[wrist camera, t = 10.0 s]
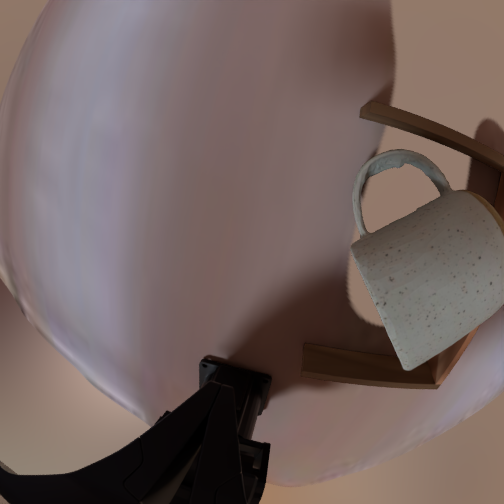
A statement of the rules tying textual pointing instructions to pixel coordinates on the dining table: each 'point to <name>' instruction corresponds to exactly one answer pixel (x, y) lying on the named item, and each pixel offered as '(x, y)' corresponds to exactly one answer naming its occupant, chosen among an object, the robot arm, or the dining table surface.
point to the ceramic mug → (431, 263)
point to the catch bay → (389, 367)
